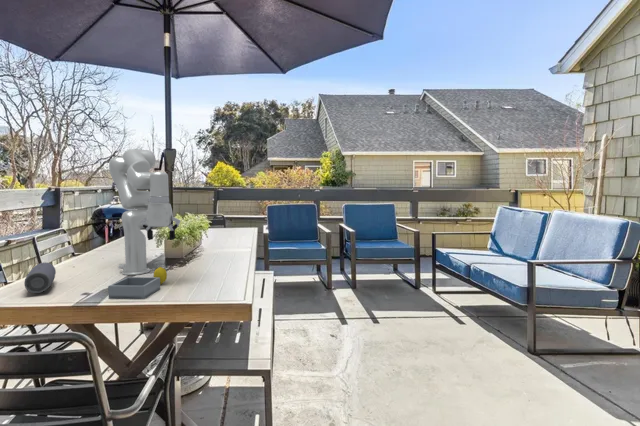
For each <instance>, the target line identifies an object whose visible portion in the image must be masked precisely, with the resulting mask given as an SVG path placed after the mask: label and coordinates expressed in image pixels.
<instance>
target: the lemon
mask: <svg viewBox="0 0 640 426" xmlns="http://www.w3.org/2000/svg"><path fill="white" fill-rule="evenodd" d="M153 277H160V286H161V285H162V284H163V283H165V282H166V280H167V277H168V274H167V269H165V268H164V267H162V266H159V267H157V268H156V269H155V270H154V272H153Z"/></svg>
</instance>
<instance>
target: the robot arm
mask: <svg viewBox="0 0 640 426" xmlns="http://www.w3.org/2000/svg"><path fill="white" fill-rule="evenodd" d="M156 159H157V158H156V155H155V154H154V152H153V151H151V150H149V149H137V148H131V149H127V150H126V151H124V152H123V154H122V156H117V157H112V159H110V160H109V164H108V169H109V174H110V176H111V178H112V180H113V182H114V184H115V186H116V188H117V191H118V197H119V201H120V205H121V206H122V208H123V209H124V210H125V211H124V212H123V213H122V215H121V223H122V228H123V234H124V259H125V263H124V264H123V263H121V264H118V266H117V267H118V269H123V270H122V275H126V276H139V275H144V274H147V273H150V272H151V269H150V268H149V267H148V266H147V265H148V264H147V240H148V241H150V240H154V232H153V228H157V227H158V228H160V227H161V228H162V227H163V228H164V227H167V228H168V229H169V233H168V234H169V241H172V240H173V241H174V240H175V237H176V230H177V229H178V228H179V226H180V223H181V220H180V219H179V218H176V217H175V216H174V215H173V214H174V213H173V208H172V205H171V203H170V191H169V174H168V173H166V172H164V171H163V172H162V171H156V172H155V171H154V172H150V171H151V169H152V168H153V167H154V166H155V164H156ZM174 223H175V224H174ZM141 229H144V230H145V231H146V235H145V233H143V231H142V230H141ZM146 237H147V238H146Z"/></svg>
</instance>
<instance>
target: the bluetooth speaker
mask: <svg viewBox="0 0 640 426" xmlns="http://www.w3.org/2000/svg"><path fill="white" fill-rule="evenodd" d="M56 273H57V272H56V268H55V266H54V265H53V264H51V263H50V262H41V263H38V264H36V265H35V266H33V268H31V270H30V271H29V272H28V273H27V275H26V277H25V278H24V282H23V283H24V288H25V289H26V290H27V292H29V293H32V294H41V293H44V292H45V291H47V290H48V289H49V287H50V286H52V284H53V282H54V281H55V278H56ZM43 291H44V292H43Z"/></svg>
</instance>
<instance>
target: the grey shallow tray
mask: <svg viewBox="0 0 640 426" xmlns="http://www.w3.org/2000/svg"><path fill="white" fill-rule="evenodd" d="M107 287H108V288H107V290H108V292H107V293H108V299H110V300H111V299H112V300H115V299H116V300H119V299H121V300H123V299H124V300H146V299H147V298H148V297H150V296H151V295H153V294H155V293H156V292H158V291H159V290H161V285H160V277H151V276H150V277H147V276H140V277H139V276H137V277H135V276H134V277H133V276H129V277H128V276H126V277H124V278H123V279H121V280H118V281H116V282H114V283H111V284H109V285H108V286H107Z"/></svg>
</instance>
